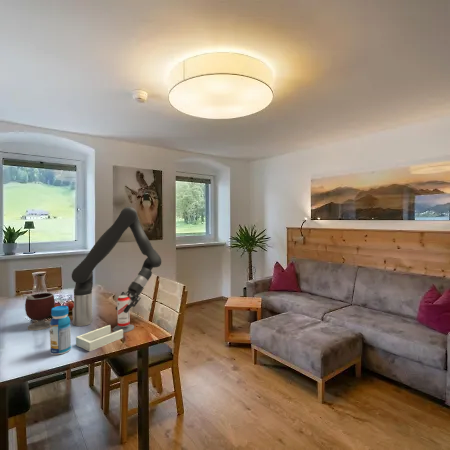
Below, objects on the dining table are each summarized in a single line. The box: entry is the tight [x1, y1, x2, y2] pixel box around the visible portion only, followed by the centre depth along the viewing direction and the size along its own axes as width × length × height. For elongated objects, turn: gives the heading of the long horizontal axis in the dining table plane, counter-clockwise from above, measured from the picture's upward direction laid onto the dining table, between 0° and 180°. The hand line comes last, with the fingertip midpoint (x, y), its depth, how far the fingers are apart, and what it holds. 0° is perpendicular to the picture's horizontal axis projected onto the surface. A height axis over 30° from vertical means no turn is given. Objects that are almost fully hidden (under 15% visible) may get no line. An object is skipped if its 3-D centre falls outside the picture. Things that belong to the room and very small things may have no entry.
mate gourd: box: [22, 292, 56, 332], centre depth 162 cm, size 16×14×20 cm
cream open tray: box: [75, 324, 124, 352], centre depth 143 cm, size 18×11×4 cm, turn 146°
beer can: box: [116, 294, 131, 327], centre depth 159 cm, size 6×6×16 cm
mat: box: [112, 323, 135, 334], centre depth 159 cm, size 11×11×1 cm
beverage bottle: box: [49, 305, 72, 356], centre depth 133 cm, size 8×8×20 cm
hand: (120, 311), depth 157 cm, fingers closed on beer can, 6 cm apart
